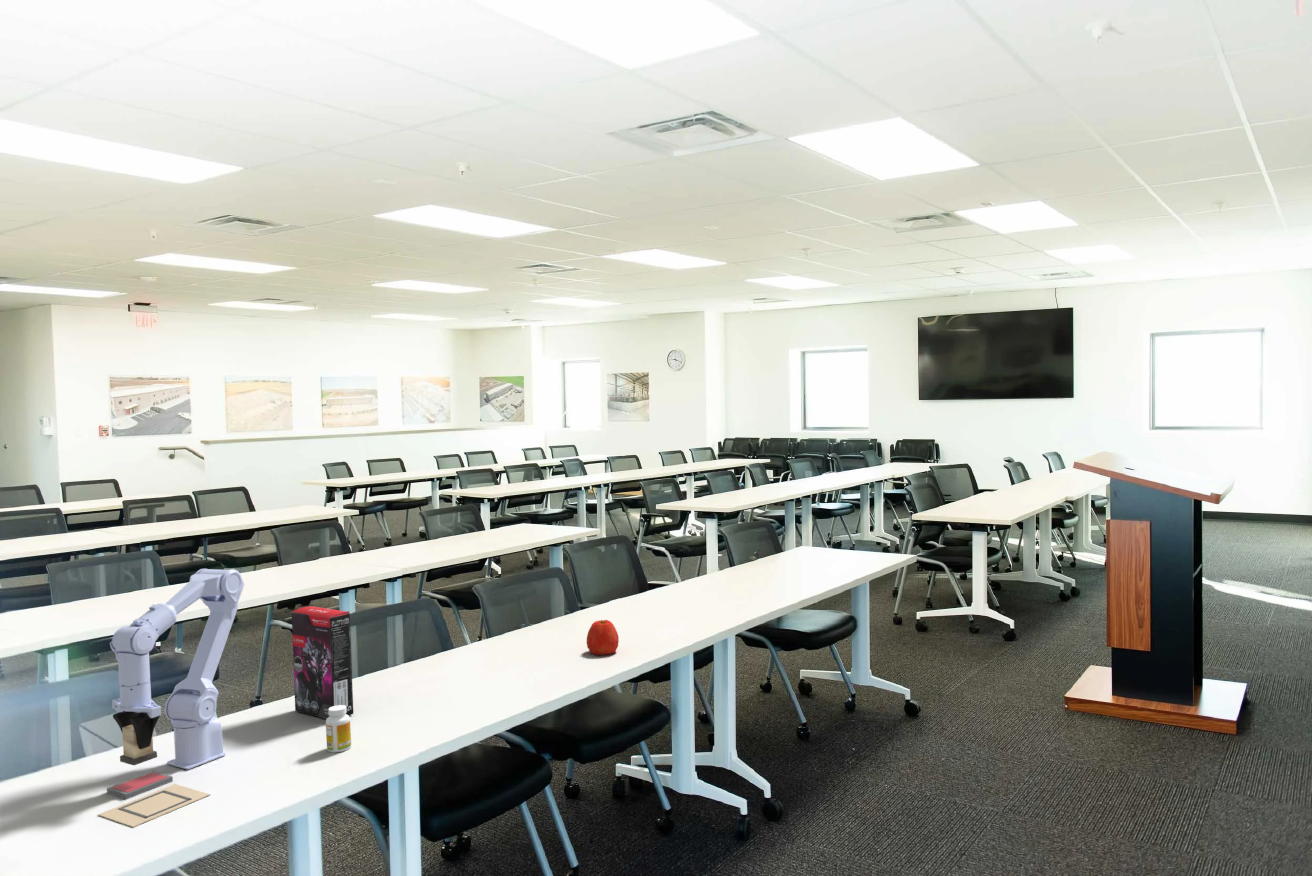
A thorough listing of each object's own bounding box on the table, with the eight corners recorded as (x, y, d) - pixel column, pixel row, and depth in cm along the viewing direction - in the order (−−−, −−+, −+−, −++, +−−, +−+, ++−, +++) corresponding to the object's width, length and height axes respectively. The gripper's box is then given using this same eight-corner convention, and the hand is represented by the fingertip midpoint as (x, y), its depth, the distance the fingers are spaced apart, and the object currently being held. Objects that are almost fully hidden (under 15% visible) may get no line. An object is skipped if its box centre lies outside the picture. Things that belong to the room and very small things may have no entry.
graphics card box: (293, 712, 239) (288, 610, 238) (315, 704, 244) (311, 604, 244) (333, 722, 229) (329, 616, 228) (356, 714, 235) (351, 610, 234)
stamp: (143, 753, 196) (141, 720, 195) (157, 757, 193) (155, 723, 193) (120, 761, 191) (118, 728, 191) (133, 765, 189) (132, 731, 188)
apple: (606, 646, 295) (605, 614, 294) (625, 652, 287) (624, 619, 286) (580, 652, 288) (579, 620, 288) (599, 658, 280) (598, 625, 280)
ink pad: (153, 775, 198) (153, 770, 198) (172, 781, 195) (172, 776, 195) (107, 793, 190) (106, 788, 190) (126, 799, 186) (126, 794, 186)
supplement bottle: (354, 743, 214) (352, 703, 213) (347, 752, 208) (345, 711, 208) (331, 744, 214) (329, 704, 213) (323, 753, 208) (321, 712, 208)
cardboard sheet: (175, 784, 193) (175, 783, 193) (210, 795, 187) (210, 793, 187) (98, 815, 179) (98, 813, 179) (133, 827, 173) (133, 826, 173)
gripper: (96, 683, 192) (99, 746, 192) (136, 692, 185) (139, 757, 185) (129, 674, 198) (132, 735, 198) (169, 682, 191) (172, 746, 191)
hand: (138, 745), depth 192 cm, fingers closed on stamp, 4 cm apart
